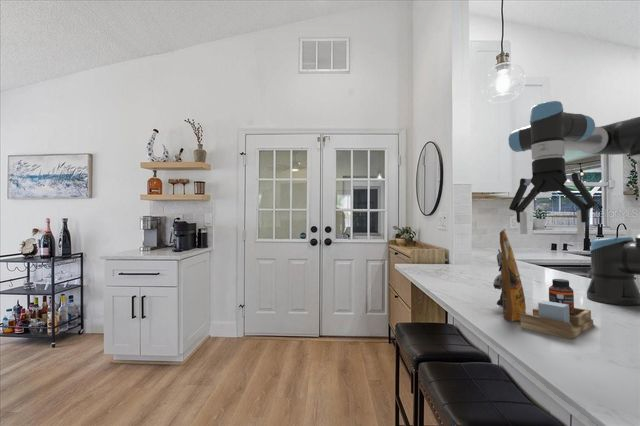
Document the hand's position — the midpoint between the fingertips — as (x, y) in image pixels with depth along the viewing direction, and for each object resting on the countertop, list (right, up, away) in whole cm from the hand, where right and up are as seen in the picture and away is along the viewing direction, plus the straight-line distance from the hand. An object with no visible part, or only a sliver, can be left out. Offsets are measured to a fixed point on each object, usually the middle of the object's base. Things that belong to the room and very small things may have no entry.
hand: (550, 234), depth 89 cm
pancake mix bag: (-2, -27, +14) cm, 31 cm away
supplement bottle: (+7, -25, +6) cm, 27 cm away
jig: (+4, -27, +3) cm, 27 cm away
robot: (+4, -27, +28) cm, 39 cm away
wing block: (+1, -25, 0) cm, 25 cm away
